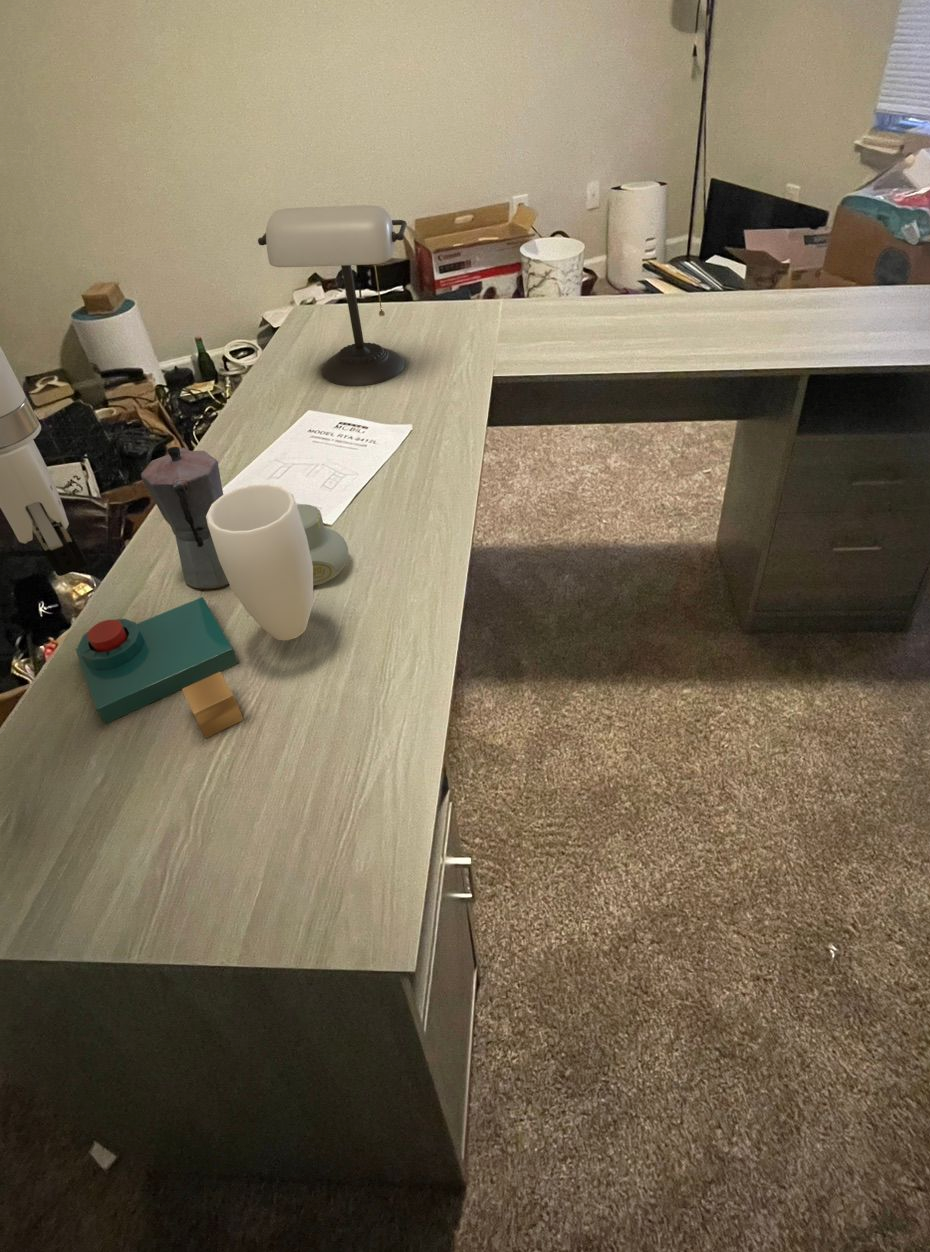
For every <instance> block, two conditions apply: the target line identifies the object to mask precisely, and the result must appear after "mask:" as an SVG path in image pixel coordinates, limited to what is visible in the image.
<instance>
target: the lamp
mask: <svg viewBox="0 0 930 1252" xmlns="http://www.w3.org/2000/svg"><path fill="white" fill-rule="evenodd" d="M407 225H408V223H407V221H405V220H403V219H392V217H391V214H390V213H389V212H388V211H387V210H386V209H385V207H382V206H380V205H370V204H368V205H366V204H365V205H333V206H331V205H330V206H308V207H307V206H306V207H305V206H304V207H287V208H281V209H277V210H275V211H273V212H272V214H271V216H269V219H268V221H267V224H266V228H265V232H264V234H263V235H262V236H261V237H259V238H257V244H258V245H259V246H266V252H267V259H268V264H269V265H270V266H272V267H275V268H309V267H311V268H312V267H338V266H339V267H340V268H341V273H342V279H343V284H344V290H345V296H346V302H347V308H348V313H349V319H350V324H351V325H350V326H351V331H352V335H353V342H354V343H352V344H348V345H347V346H344V347H342V348H341V349H340V350H339V351H338V352H337V353H335V354H333V356H331V357H329V359H327V360H326V362H325V363H324V364H323V365H322V367H321V370H320V372H321V373H320V374H321V376H322V378H324V379H325V380H326V381H327V382H330V383H333V384H335V385H340V386H344V387H345V386H348V387H362V386H371V385H375V384H379V383H383V382H386V381H389V380H391V379H393V378H396V377H397V376H398V375H399V374H400V373H402V371H403V370H404V369H405V366H406V361H405V359H404V358H403V357H402V356H401V355H400V354H399V353H397V352H395V351H393V350H391V349H389V348H386V347H383V346H381V345H380V344H377V343H374V342H365V341H364V335H363V330H362V323H361V317H360V312H359V311H360V310H359V305H358V300H357V299H358V298H357V292H356V287H355V281H354V275H353V269H352V266H362V265H363V266H364V265H373V266H374V275H375V281H376V287H377V295H378V301H379V302H378V303H379V308H380V310H379V312H378V316H379V317H385V316H386V313H385V311H384V310H383V306H382V300H381V292H380V287H379V279H378V272H377V266H376V265H378V264H383V263H386V262H388V261H389V260H391V259H392V257H393V255H394V252H395V249H396V242H397V241H404V239H405V235H404V234H405V231H406V229H407ZM394 226H400V228H399V231H398V232H397V233H396V232H395V231H394Z"/></svg>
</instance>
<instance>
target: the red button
mask: <svg viewBox="0 0 930 1252" xmlns="http://www.w3.org/2000/svg"><path fill="white" fill-rule="evenodd" d="M88 631H89V632H88ZM88 631H87V632H88V634H87V639H88V640H89V642H90V644H91V646H92V647H93V649H94V650H95V651H97V652H108V651H111V650H113V649H115V648H118V647H119V646H120V645H122V644H123V643H124V642H125V641H126V639H127V633H126V631H125V629H124V627H123V625H122V624H121V622H119V621H117V619H106V620H103V621H100V622H97V623H96V624H95V625H93V626H91V628H89V630H88Z"/></svg>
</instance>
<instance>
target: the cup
mask: <svg viewBox="0 0 930 1252" xmlns="http://www.w3.org/2000/svg"><path fill="white" fill-rule="evenodd" d="M297 505H298V504H297V502H296V499H295V496H294V494H293V493H292V492H290V491H289V490H287V489H286V488H284V487H282V486H279V485H274V484H270V483H262V484H250V485H245V486H241V487H237V488H235V489H233V490H231V491H228V492H226V493H223V495H222V496H221V497H220V498H219V499H217V500H216V501H215V502H214V503H213V504H212V505H211V507H210V509H209V511H208V513H207V515H206V519H207V524H208V528H209V531H210V534H211V537H212V540H213V543H214V546H215V549H216V553H217V556H218V559H219V562H220V564H221V566H222V568H223V571H224V573H225V575H226V577H227V580H228V582H229V587H230V589H231V591H232V593H234V595H235V597H236V598H237V599H238V601H239V602H240V604H241V605H242V606H243V608H244V609H245V610H246V612H247V614H248V615H249V616H250V617H251V618H252V619H253V620H254V621H255V622H256V624H258V625H259V627H261V628H262V629H263V630H264V631H265V632H266V633H268V634H269V635H270V636H272V638H274V639H275V640H278V641H290V640H294V639H296V638H298V637H299V636H301V635H303V634H304V632H305V631H306V630H307V627H308V623H309V620H310V616H311V612H312V605H313V598H314V586H313V565H312V560H311V555H310V550H309V545H308V540H307V536H306V533H305V530H304V527H303V523H302V520H301V517H300V514H299V511H298V507H297Z"/></svg>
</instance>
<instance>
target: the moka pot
mask: <svg viewBox="0 0 930 1252" xmlns="http://www.w3.org/2000/svg"><path fill="white" fill-rule="evenodd" d="M166 450H167V453H168V454H166V455H164V456H161V457H158V458H156V459H153V460H151V461H150V462H149V463H148V465H147V466H146V468H144V470H143V471H142V472H141V473H140V478H141V480H142V481H143V483H144V485H145V486H146V489H147V491H148V492H149V494H150V496H151V497H152V499H153V501H154V504H156V506H157V508H158V510H159V512H160V514H161V515H162V517H163V520H164V521H165V522H166V523H167V524H168V525H169V526H170V527H171V531H172V533H173V535H174V536H175V541H176V546H177V551H178V556H179V560H180V561H179V562H180V566H181V570H182V575H183V580H184V583H186V584H187V585H188V586H190V587H192V588H195V589H203V590H206V589H207V590H208V589H217V588H222V587H224V586H226V585H228V584H229V582H228V580H227V577H226V575H225V573H224V571H223V568H222V566H221V564H220V562H219V559H218V556H217V553H216V549H215V546H214V543H213V540H212V537H211V534H210V531H209V528H208V524H207V519H206V515H207V513H208V511H209V509H210V507H211V505H212V504H213V503H214V502H215V501H216V500H217V499H219V498H220V497H221V496H222V495H224V491H223V486H222V480H221V479H222V478H221V474H220V467H219V461H218V460H217V459H216V458H215V457H213V456H212V455H211V454H210V453H208V452H207V451H205V450H188V449H187V448H186V447H181V448H180V447H179V446H171V447H169V448H167V449H166ZM229 585H230V584H229Z"/></svg>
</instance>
